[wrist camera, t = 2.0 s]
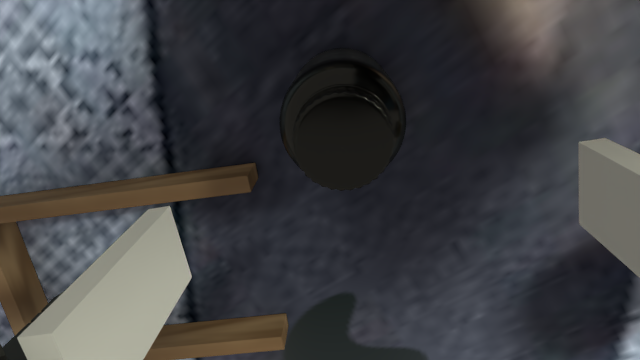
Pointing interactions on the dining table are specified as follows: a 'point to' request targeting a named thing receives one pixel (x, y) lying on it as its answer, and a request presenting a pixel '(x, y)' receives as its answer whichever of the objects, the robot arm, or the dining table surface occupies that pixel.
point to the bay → (3, 211)
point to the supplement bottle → (342, 119)
